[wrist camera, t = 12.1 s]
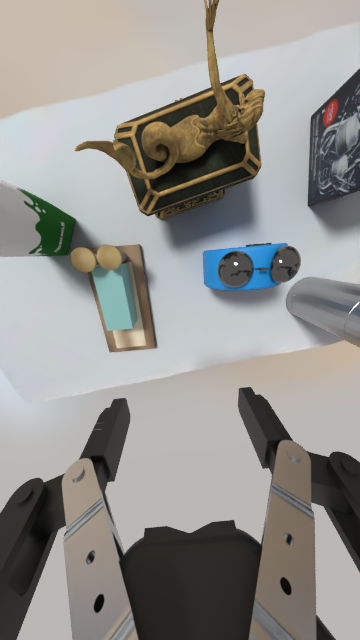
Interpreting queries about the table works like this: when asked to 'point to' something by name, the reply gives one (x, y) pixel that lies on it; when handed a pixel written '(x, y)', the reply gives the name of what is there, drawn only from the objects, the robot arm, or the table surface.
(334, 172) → the small box
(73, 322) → the table surface
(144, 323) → the board
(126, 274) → the teal rectangular prism
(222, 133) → the decorative box
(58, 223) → the milk carton
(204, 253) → the alarm clock
